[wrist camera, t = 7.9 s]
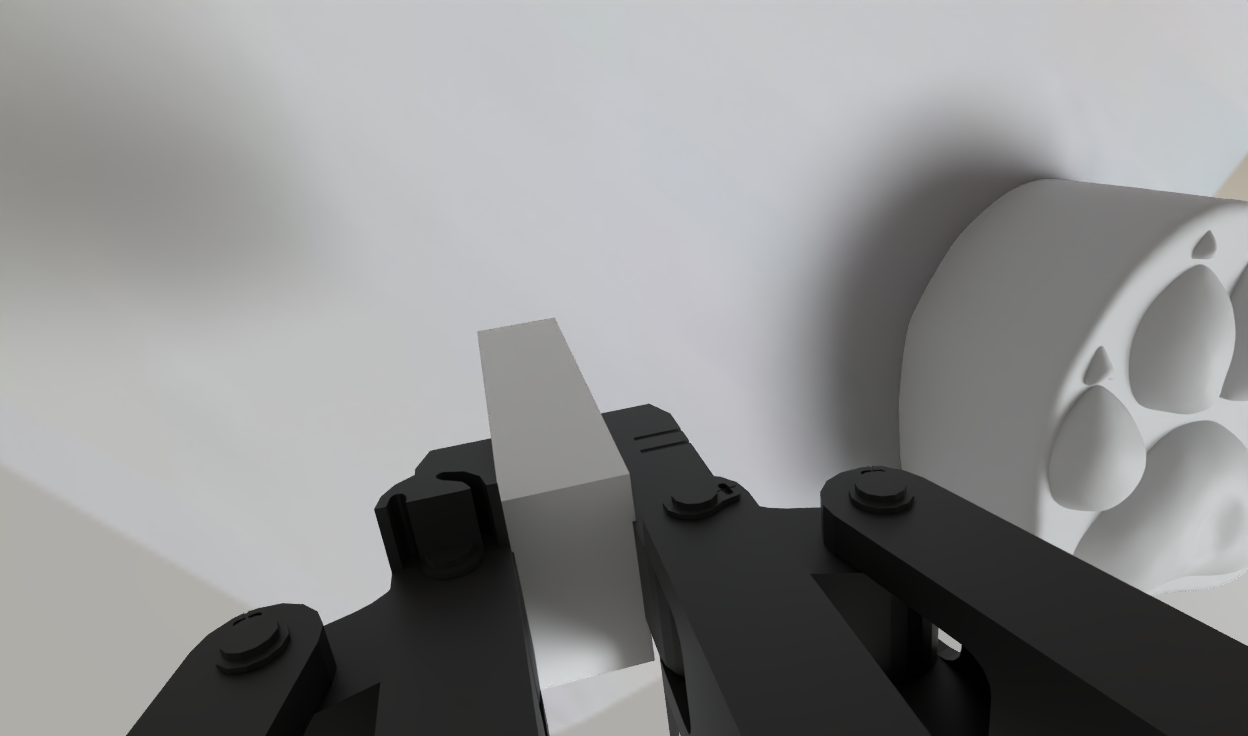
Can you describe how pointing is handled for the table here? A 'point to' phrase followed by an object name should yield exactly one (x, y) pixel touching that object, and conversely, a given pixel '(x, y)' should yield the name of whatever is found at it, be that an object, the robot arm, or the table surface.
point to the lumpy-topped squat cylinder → (1092, 377)
